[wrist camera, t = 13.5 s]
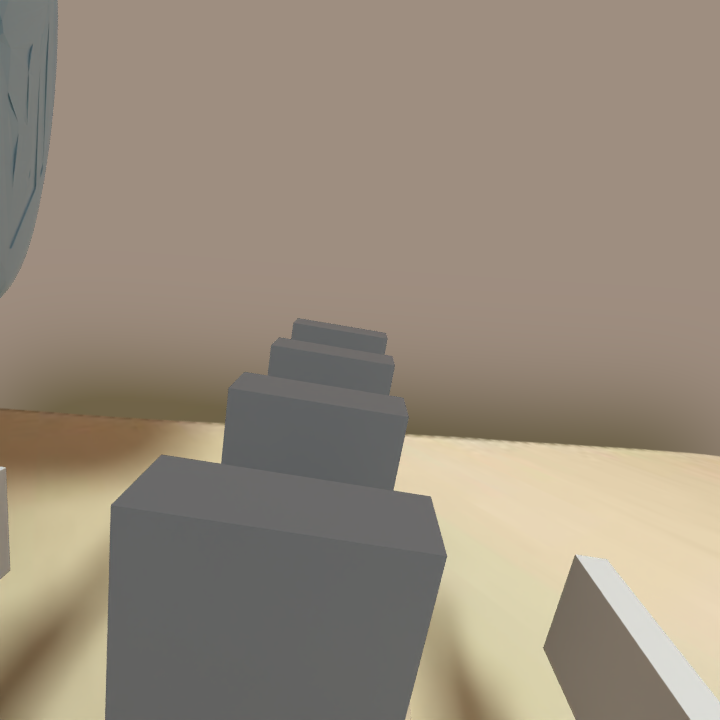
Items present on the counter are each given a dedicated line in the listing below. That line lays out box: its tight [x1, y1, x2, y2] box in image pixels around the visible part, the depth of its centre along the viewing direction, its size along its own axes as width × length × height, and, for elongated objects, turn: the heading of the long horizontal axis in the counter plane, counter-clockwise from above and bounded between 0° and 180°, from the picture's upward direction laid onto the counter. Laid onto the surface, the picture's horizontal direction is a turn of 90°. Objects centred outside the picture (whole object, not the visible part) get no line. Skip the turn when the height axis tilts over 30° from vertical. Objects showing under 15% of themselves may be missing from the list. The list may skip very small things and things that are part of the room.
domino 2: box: [268, 338, 395, 395], centre depth 19 cm, size 2×5×10 cm, turn 90°
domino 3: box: [221, 372, 409, 491], centre depth 14 cm, size 2×5×10 cm, turn 90°
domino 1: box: [291, 318, 387, 355], centre depth 24 cm, size 2×5×10 cm, turn 90°
